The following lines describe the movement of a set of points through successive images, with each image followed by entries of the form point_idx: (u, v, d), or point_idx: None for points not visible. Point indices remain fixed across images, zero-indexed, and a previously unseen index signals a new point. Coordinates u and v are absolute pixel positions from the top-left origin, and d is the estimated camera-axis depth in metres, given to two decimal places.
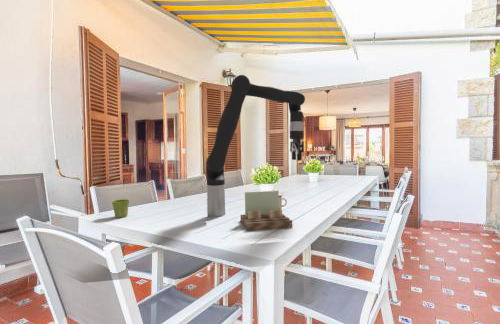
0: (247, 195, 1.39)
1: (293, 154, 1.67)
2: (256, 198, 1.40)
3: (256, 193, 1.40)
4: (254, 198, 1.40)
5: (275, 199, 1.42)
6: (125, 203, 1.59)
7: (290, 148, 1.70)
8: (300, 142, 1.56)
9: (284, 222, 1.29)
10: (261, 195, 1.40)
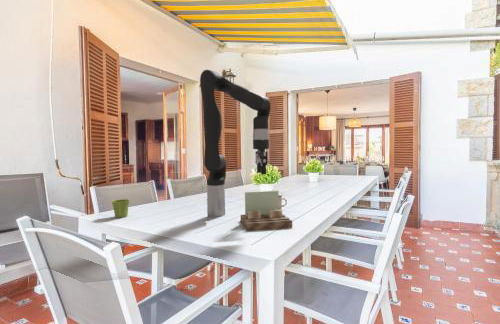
0: (247, 195, 1.39)
1: (258, 166, 1.44)
2: (256, 198, 1.40)
3: (256, 193, 1.40)
4: (254, 198, 1.40)
5: (275, 199, 1.42)
6: (125, 203, 1.59)
7: None
8: (263, 153, 1.33)
9: (284, 222, 1.29)
10: (261, 195, 1.40)
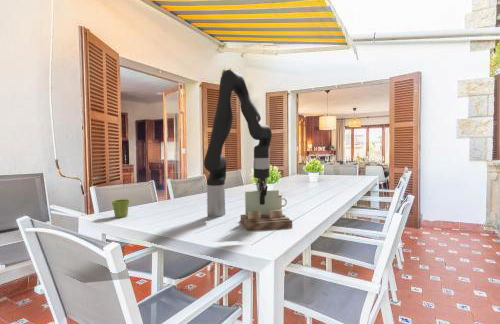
0: (247, 194, 1.39)
1: None
2: (256, 197, 1.40)
3: (256, 192, 1.40)
4: (254, 197, 1.40)
5: (275, 198, 1.42)
6: (125, 203, 1.59)
7: (257, 190, 1.45)
8: (263, 188, 1.35)
9: (284, 222, 1.29)
10: None
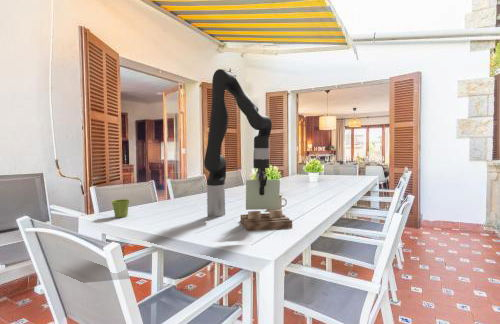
0: (248, 183, 1.39)
1: None
2: (257, 186, 1.40)
3: (257, 181, 1.40)
4: (255, 186, 1.40)
5: (276, 188, 1.42)
6: (125, 203, 1.59)
7: None
8: (263, 178, 1.35)
9: (284, 222, 1.29)
10: (262, 183, 1.40)
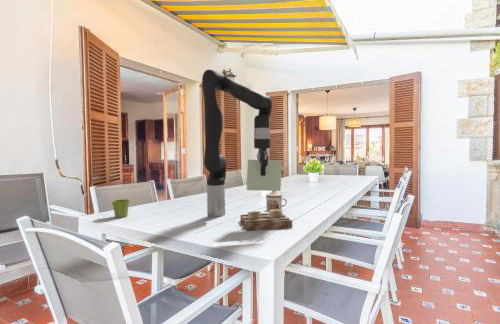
0: (250, 162, 1.37)
1: None
2: (259, 166, 1.38)
3: None
4: (257, 166, 1.38)
5: (278, 169, 1.40)
6: (125, 203, 1.59)
7: None
8: (264, 157, 1.33)
9: (284, 222, 1.29)
10: None
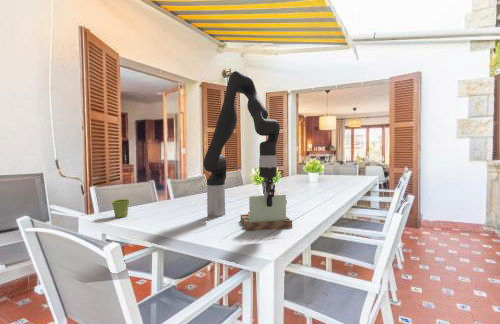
0: (252, 199, 1.27)
1: None
2: (261, 203, 1.28)
3: (261, 197, 1.28)
4: (259, 203, 1.28)
5: (282, 204, 1.30)
6: (125, 203, 1.59)
7: None
8: (271, 187, 1.23)
9: (284, 222, 1.29)
10: (266, 199, 1.29)
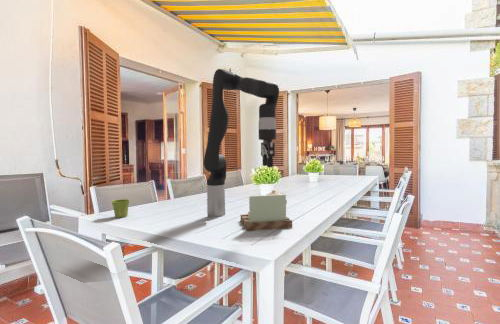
0: (252, 199, 1.27)
1: (264, 159, 1.33)
2: (261, 203, 1.28)
3: (261, 197, 1.28)
4: (259, 203, 1.28)
5: (282, 204, 1.30)
6: (125, 203, 1.59)
7: (261, 151, 1.35)
8: (270, 144, 1.22)
9: (284, 222, 1.29)
10: (266, 199, 1.29)
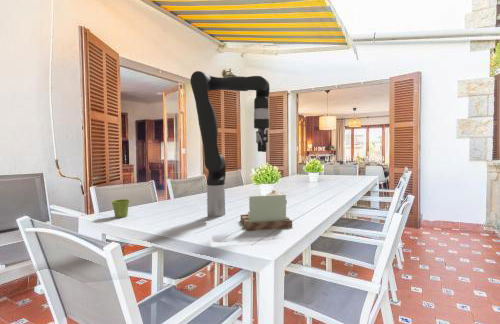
0: (252, 199, 1.27)
1: (259, 145, 1.51)
2: (261, 203, 1.28)
3: (261, 197, 1.28)
4: (259, 203, 1.28)
5: (282, 204, 1.30)
6: (125, 203, 1.59)
7: (256, 139, 1.53)
8: (264, 131, 1.40)
9: (284, 222, 1.29)
10: (266, 199, 1.29)
